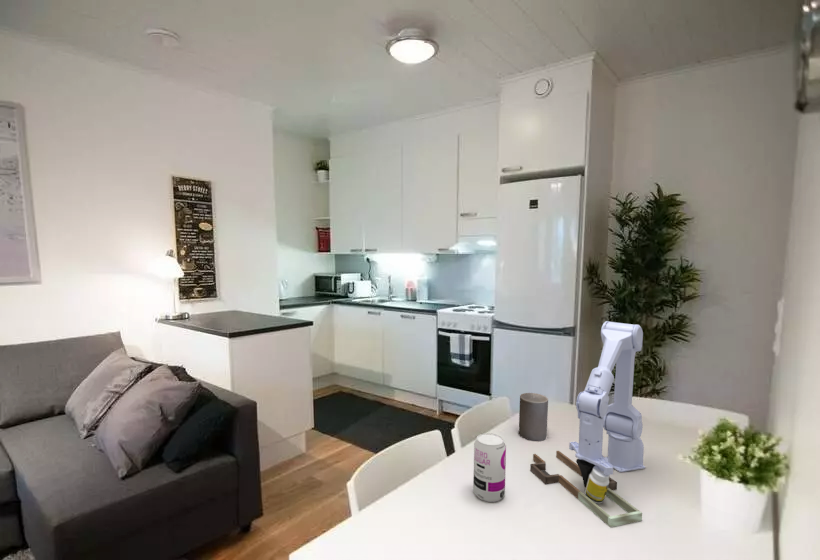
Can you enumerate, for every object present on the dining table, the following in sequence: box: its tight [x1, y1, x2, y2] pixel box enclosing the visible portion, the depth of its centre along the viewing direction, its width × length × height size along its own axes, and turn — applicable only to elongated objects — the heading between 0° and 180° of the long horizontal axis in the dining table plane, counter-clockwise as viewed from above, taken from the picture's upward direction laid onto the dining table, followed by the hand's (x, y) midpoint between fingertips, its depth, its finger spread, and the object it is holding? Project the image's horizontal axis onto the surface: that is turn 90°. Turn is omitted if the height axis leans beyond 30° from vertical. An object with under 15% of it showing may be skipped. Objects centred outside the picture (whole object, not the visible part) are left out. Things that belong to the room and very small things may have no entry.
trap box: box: [529, 450, 643, 528], centre depth 111 cm, size 18×32×2 cm, turn 15°
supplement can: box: [472, 432, 507, 503], centre depth 107 cm, size 8×8×15 cm
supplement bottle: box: [584, 466, 611, 505], centre depth 105 cm, size 5×5×8 cm
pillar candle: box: [518, 392, 549, 442], centre depth 143 cm, size 10×10×15 cm
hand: (588, 487), depth 108 cm, fingers closed, pressing on supplement bottle
